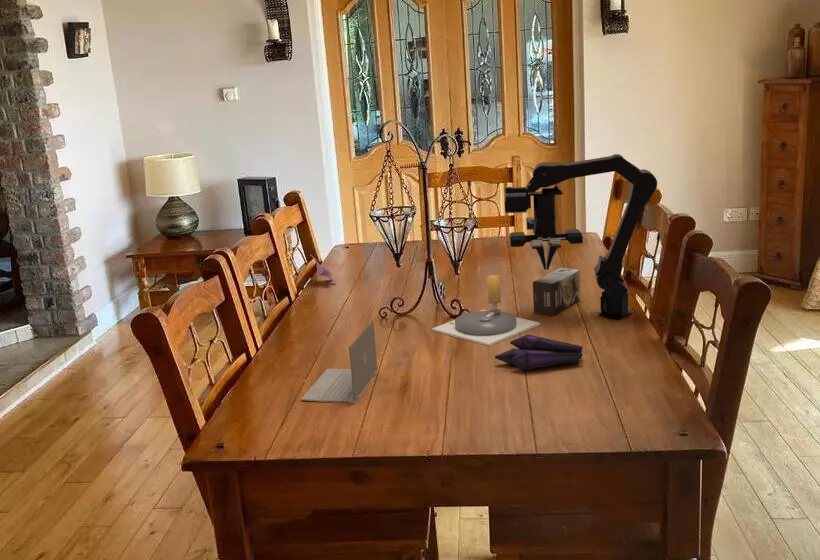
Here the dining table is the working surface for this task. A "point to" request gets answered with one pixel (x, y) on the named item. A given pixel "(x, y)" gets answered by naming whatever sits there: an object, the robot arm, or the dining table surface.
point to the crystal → (540, 353)
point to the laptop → (348, 373)
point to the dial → (487, 315)
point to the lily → (322, 272)
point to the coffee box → (556, 291)
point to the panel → (486, 339)
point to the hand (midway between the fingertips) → (546, 269)
